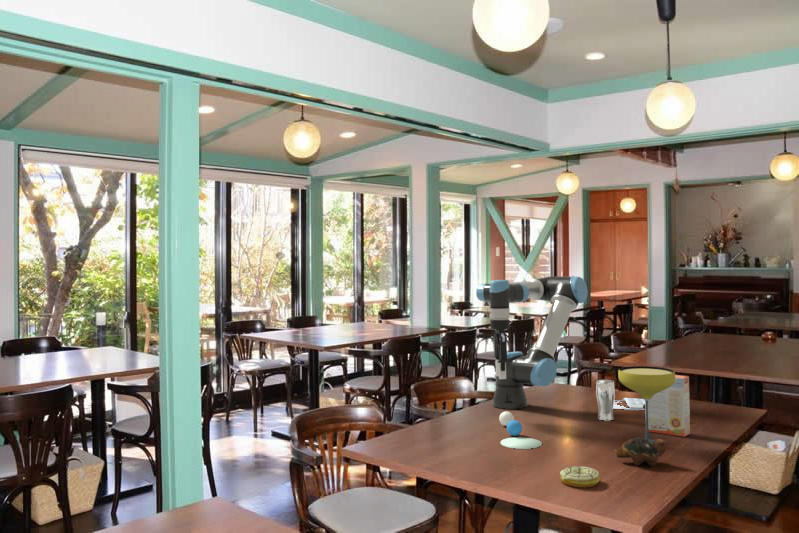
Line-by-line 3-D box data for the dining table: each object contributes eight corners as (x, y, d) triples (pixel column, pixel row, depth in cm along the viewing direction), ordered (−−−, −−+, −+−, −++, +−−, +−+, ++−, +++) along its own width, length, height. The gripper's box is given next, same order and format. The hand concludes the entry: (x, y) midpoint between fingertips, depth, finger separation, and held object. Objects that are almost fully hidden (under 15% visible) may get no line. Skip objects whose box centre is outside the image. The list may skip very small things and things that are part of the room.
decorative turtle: (672, 469, 194) (670, 442, 194) (619, 470, 197) (617, 444, 196) (664, 457, 204) (662, 432, 203) (614, 459, 206) (612, 434, 206)
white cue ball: (496, 425, 249) (496, 411, 249) (507, 423, 252) (506, 409, 252) (506, 428, 245) (505, 413, 244) (517, 426, 247) (516, 411, 247)
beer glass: (613, 417, 258) (612, 379, 258) (617, 421, 251) (616, 382, 251) (595, 417, 259) (594, 379, 259) (598, 421, 252) (597, 382, 252)
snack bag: (657, 412, 268) (656, 407, 268) (605, 411, 272) (605, 406, 272) (648, 402, 286) (648, 397, 286) (601, 401, 290) (600, 396, 290)
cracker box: (690, 434, 232) (689, 375, 232) (684, 437, 227) (683, 378, 227) (651, 428, 241) (650, 371, 241) (645, 431, 237) (644, 373, 237)
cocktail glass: (671, 454, 208) (670, 376, 208) (613, 447, 218) (612, 372, 217) (680, 441, 223) (679, 368, 223) (626, 434, 233) (625, 364, 233)
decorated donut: (561, 475, 191) (561, 462, 191) (600, 478, 188) (599, 465, 188) (558, 487, 181) (558, 473, 181) (599, 491, 178) (598, 477, 178)
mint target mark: (492, 442, 226) (492, 441, 226) (522, 435, 234) (522, 435, 234) (519, 451, 215) (519, 451, 215) (550, 444, 222) (550, 444, 222)
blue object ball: (503, 435, 235) (503, 420, 235) (515, 432, 238) (514, 417, 238) (514, 438, 231) (513, 423, 231) (525, 436, 233) (525, 420, 233)
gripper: (486, 317, 267) (487, 373, 267) (494, 321, 248) (496, 382, 248) (504, 316, 267) (505, 373, 267) (514, 320, 248) (515, 381, 248)
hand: (501, 377), depth 258 cm, fingers open, 6 cm apart
